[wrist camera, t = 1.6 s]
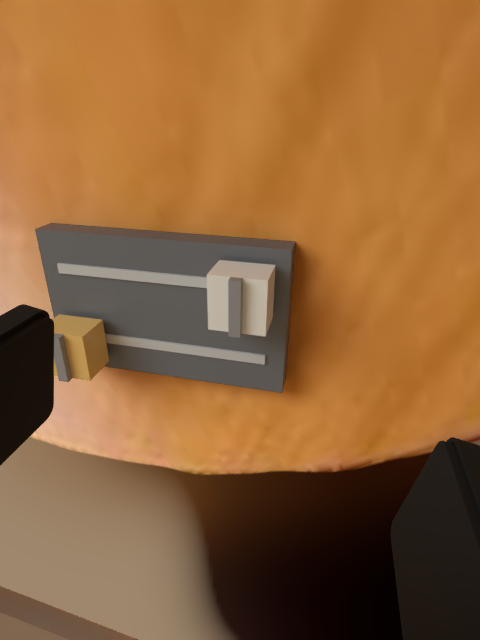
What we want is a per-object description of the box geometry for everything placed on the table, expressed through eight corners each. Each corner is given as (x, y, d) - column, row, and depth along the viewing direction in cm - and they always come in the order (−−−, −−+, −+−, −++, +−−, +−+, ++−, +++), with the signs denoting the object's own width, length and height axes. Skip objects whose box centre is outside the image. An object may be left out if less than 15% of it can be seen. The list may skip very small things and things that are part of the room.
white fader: (275, 264, 29) (266, 284, 26) (272, 316, 30) (263, 340, 27) (219, 259, 29) (203, 278, 26) (220, 311, 31) (205, 333, 28)
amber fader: (102, 319, 34) (77, 340, 31) (109, 360, 36) (86, 385, 33) (59, 314, 35) (30, 334, 32) (67, 354, 37) (41, 377, 34)
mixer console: (295, 241, 30) (291, 250, 28) (285, 378, 36) (281, 394, 34) (51, 223, 34) (33, 229, 32) (75, 348, 40) (61, 361, 38)
